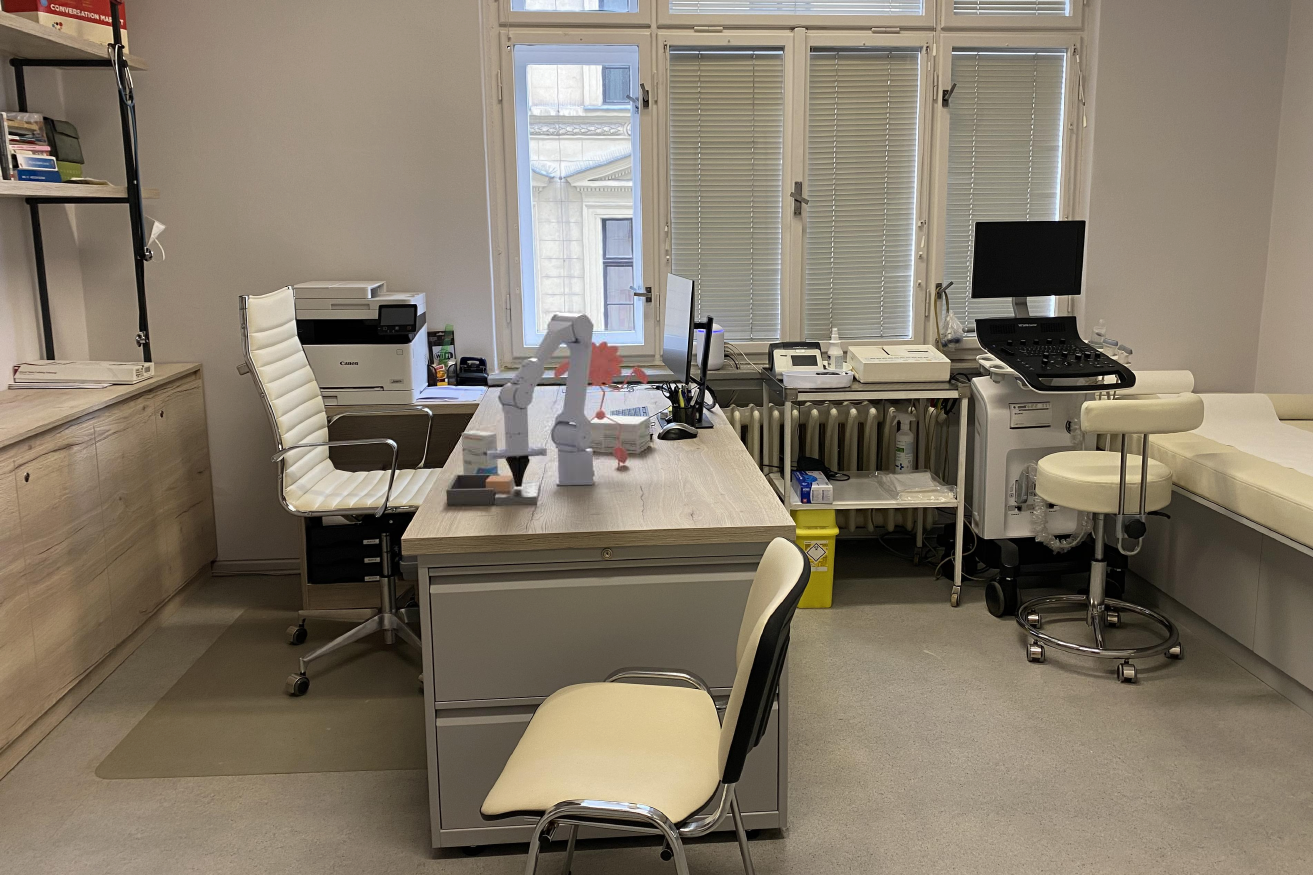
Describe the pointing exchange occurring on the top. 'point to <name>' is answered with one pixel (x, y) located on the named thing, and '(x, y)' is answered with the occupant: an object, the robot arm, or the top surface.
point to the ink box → (478, 452)
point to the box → (470, 490)
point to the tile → (500, 483)
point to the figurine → (605, 380)
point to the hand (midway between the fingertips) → (518, 485)
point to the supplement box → (631, 434)
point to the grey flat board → (519, 494)
